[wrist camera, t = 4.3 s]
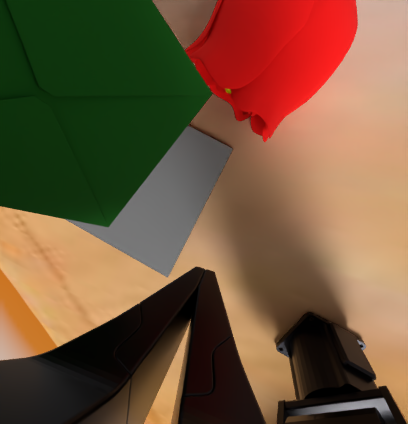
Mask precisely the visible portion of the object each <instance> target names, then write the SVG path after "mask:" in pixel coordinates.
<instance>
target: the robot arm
mask: <svg viewBox="0 0 408 424" xmlns="http://www.w3.org/2000/svg"><path fill="white" fill-rule="evenodd" d="M310 317H312V318H310ZM190 321H191V322H190ZM189 323H190V327H189V332H188V337H187V343H186V348H185V353H184V358H183V364H182V369H181V374H180V379H179V385H178V390H177V395H176V401H175V406H174V411H173V416H172V422H171V424H266V422H265V420H264V417H263V415H262V412H261V410H260V407H259V405H258V403H257V400H256V398H255V395H254V393H253V391H252V388H251V386H250V383H249V381H248V378H247V376H246V373H245V371H244V368H243V365H242V363H241V360H240V357H239V353H238V350H237V347H236V344H235V340H234V337H233V334H232V330H231V327H230V323H229V320H228V316H227V313H226V309H225V306H224V302H223V299H222V296H221V292H220V289H219V285H218V282H217V278H216V275H215V272H213V271H210V270H205V269H204V268H200V267H195V268H193V269H192V270H190V271H188V272H187V273H185V274H184V275H182V276H181V277H179V278H178V279H176V280H174V281H173V282H171V283H170V284H168V285H167V286H165V287H163V288H162V289H160V290H159V291H157V292H156V293H154V294H153V295H151V296H149V297H148V298H146V299H145V300H143V301H142V302H140V303H139V304H137V305H135V306H134V307H132V308H131V309H129V310H127V311H126V312H124V313H122V314H121V315H119V316H117V317H116V318H114V319H112V320H110V321H108V322H106V323H104V324H102V325H101V326H99V327H97V328H95V329H93V330H91V331H89V332H87V333H85V334H83V335H81V336H79V337H77V338H75V339H73V340H71V341H69V342H67V343H65V344H63V345H61V346H59V347H57V348H55V349H53V350H50V351H48V352H45V353H43V354H39V355H36V356H32V357H27V358H19V359H10V360H1V361H0V424H144V422H145V420H146V417H147V415H148V413H149V411H150V409H151V406H152V404H153V402H154V400H155V398H156V396H157V393H158V391H159V389H160V387H161V385H162V382H163V380H164V378H165V376H166V374H167V371H168V369H169V367H170V365H171V363H172V361H173V358H174V356H175V354H176V352H177V350H178V347H179V345H180V343H181V341H182V339H183V337H184V334H185V332H186V330H187V328H188V325H189ZM359 344H360V345H359ZM365 348H366V345H365V343H364V341H363V340H361V339H359V338H357V337H356V336H354V334H352V333H350V332H348V331H346V330H345V329H343V328H341V327H339V326H337V325H336V324H334V323H331V322H329V321H327V320H325V319H323V318H321V317H319V316H318V315H316V314H314V313H312V312H308V313H306V314H305V315H304V316H303V317H302V318H301V319H300V320H299V321H298V322H297V323H296V325H295V326H294V327H293V328H292V329H291V330H290V331H289V332H288V333H287V334H286V335H285V336H284V337H283V338H282V339H281V340H280V341H279V342H278V343H277V344H276V349H277V351H278V352H280V353H282V354H284V355H285V356H287V357H289V360H290V366H291V372H292V378H293V383H294V389H295V395H296V400H293V401H285V400H283V401H279V402H278V414H277V424H408V422H407V421H406V419H405V417H404V416H403V414H402V412H401V410H400V409H399V407H398V405H397V404H396V402H395V400H394V398H393V397H392V395H391V393H390V392H389V390H388V388H387V386H381V387H379V388H377V386H376V384H375V382H374V380H375V379H376V375H375V373H374V371H373V369H372V367H371V365H370V363H369V362H368V360H367V358H366V356H365V354H364V352H363V350H364V349H365Z"/></svg>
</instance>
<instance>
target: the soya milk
mask: <svg viewBox="0 0 408 424" xmlns="http://www.w3.org/2000/svg"><path fill="white" fill-rule="evenodd" d="M211 95H212V92H211V90H210V89H209V87H208V86H207V84H206V83H205V81H204V80H203V78H202V77H201V75H200V74H199V72H198V70H197V69H196V67H195V66H194V64H193V63H192V61H191V60H190V58H189V57H188V55H187V54H186V52H185V50H184V49H183V47H182V46H181V44H180V43H179V41H178V40H177V38H176V37H175V35H174V34H173V32H172V31H171V29H170V27H169V26H168V24H167V23H166V21H165V20H164V18H163V17H162V15H161V14H160V12H159V11H158V9H157V7H156V6H155V4H154V3H153V1H152V0H0V206H2V207H7V208H12V209H17V210H22V211H27V212H33V213H38V214H43V215H48V216H53V217H58V218H63V219H68V220H73V221H78V222H83V223H88V224H93V225H98V226H103V227H109V226H110V225H111V224H112V222H113V221H114V220H115V218H116V217H117V216H118V215H119V213H120V212H121V211H122V209H123V208H124V207H125V206H126V204H127V203H128V202H129V200H130V199H131V198H132V197H133V195H134V194H135V193H136V191H137V190H138V189H139V188H140V186H141V185H142V184H143V182H144V181H145V180H146V179H147V177H148V176H149V175H150V173H151V172H152V171H153V170H154V168H155V167H156V166H157V164H158V163H159V162H160V161H161V159H162V158H163V157H164V156H165V154H166V153H167V152H168V150H169V149H170V148H171V147H172V145H173V144H174V143H175V141H176V140H177V139H178V138H179V136H180V135H181V134H182V132H183V131H184V130H185V129H186V127H187V126H188V125H189V123H190V122H191V121H192V120H193V118H194V117H195V116H196V114H197V113H198V112H199V111H200V109H201V108H202V107H203V105H204V104H205V103H206V102H207V100H208V99H209V98H210V96H211Z"/></svg>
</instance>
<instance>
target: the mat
mask: <svg viewBox="0 0 408 424" xmlns="http://www.w3.org/2000/svg"><path fill="white" fill-rule="evenodd" d="M232 150H233V148H231V147H229V146H227V145H225V144H223V143H221V142H219V141H217V140H215V139H213V138H211V137H209V136H208V135H206V134H204V133H202V132H200V131H198V130H196V129H194V128H192V127H190V126H187V127H186V129H185V130H184V131H183V132H182V134H181V135H180V136H179V138H178V139H177V140H176V141H175V143H174V144H173V145H172V147H171V148H170V149H169V150H168V152H167V153H166V154H165V156H164V157H163V158H162V159H161V161H160V162H159V163H158V164H157V166H156V167H155V168H154V170H153V171H152V172H151V173H150V175H149V176H148V177H147V179H146V180H145V181H144V182H143V184H142V185H141V186H140V188H139V189H138V190H137V191H136V193H135V194H134V195H133V197H132V198H131V199H130V200H129V202H128V203H127V204H126V206H125V207H124V208H123V209H122V211H121V212H120V213H119V215H118V216H117V217H116V218H115V220H114V221H113V222H112V224H111V225H110V226H109V227H103V226H98V225H93V224H88V223H83V222H78V221H73V220H68V219H65V220H67V221H69V222H71V223H73V224H74V225H76V226H78V227H80V228H81V229H83V230H85V231H87V232H88V233H90V234H92V235H94V236H95V237H97V238H99V239H101V240H102V241H104V242H106V243H108V244H110V245H111V246H113V247H115V248H117V249H118V250H120V251H122V252H124V253H125V254H127V255H129V256H131V257H132V258H134V259H136V260H138V261H140V262H141V263H143V264H145V265H147V266H148V267H150V268H152V269H154V270H155V271H157V272H159V273H161V274H162V275H164V276H166V277H168V276H169V274H170V272H171V270H172V268H173V267H174V265H175V263H176V261H177V259H178V257H179V255H180V253H181V251H182V249H183V247H184V245H185V243H186V241H187V239H188V237H189V235H190V233H191V231H192V229H193V227H194V225H195V223H196V221H197V219H198V217H199V215H200V213H201V211H202V209H203V207H204V205H205V203H206V201H207V199H208V197H209V195H210V193H211V192H212V190H213V188H214V186H215V184H216V182H217V180H218V178H219V176H220V174H221V172H222V170H223V168H224V166H225V164H226V162H227V160H228V158H229V156H230V154H231V152H232Z"/></svg>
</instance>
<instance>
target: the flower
mask: <svg viewBox="0 0 408 424" xmlns="http://www.w3.org/2000/svg"><path fill="white" fill-rule="evenodd" d="M357 25H358V20H357V7H356V0H218V1H217V3H216V6H215V8H214V11H213V14H212V16H211V18H210V20H209V22H208V24H207V26H206V28H205V29H204V31H203V32H202V34H201V35H200V36H199V37H198V39H197V40H196V41H195V42H194V43H193V44H192V45H190V46H189V47H188V48H187V49H186V50H185V52H186V54H187V55H188V57H189V58H190V60H191V61H192V63H193V62H194V63H195V65H196V69H197V70H198V72H199V74H200V75H201V77H202V78H203V80H204V81H205V83H206V84H207V86H210V90H211V91H212V92H213V93H214V94H215V95H217V96H218V97H220V98H222V99H223V100H225V101H227V102H228V103H230V104H231V106H232V107H233V109H234V112H235V118H236V120H238V121H243V120H245V119H247V118H248V117H250V116H251V128H252V130H253V132H255V133H256V134H258V135H261V136H263V141H264V142H266V141H267V139H268V137H269V138H271V136H272V135H273V133H274V131H275V129H276V128H277V126H278V125H279V124H280V122H281V121H282V120H283V119H284V118H285V117H286V116H287V115H288V114H290V113H291V112H293V111H294V110H296V109H297V108H299V107H300V106H301V105H303V104H304V103H305V102H307V101H308V100H309V99H310V98H311V97H312V96H313V95H314V94H315V93H316V92H317V91H318V90H319V89H320V88H321V87H322V86H323V85H324V84H325V82H326V81H327V80H328V79H329V78H330V76H331V75H332V74H333V73H334V71H335V70H336V69H337V67H338V66H339V64H340V63H341V62H342V60H343V59H344V57H345V55H346V54H347V52H348V50H349V49H350V47H351V44H352V42H353V40H354V37H355V34H356V31H357Z"/></svg>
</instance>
